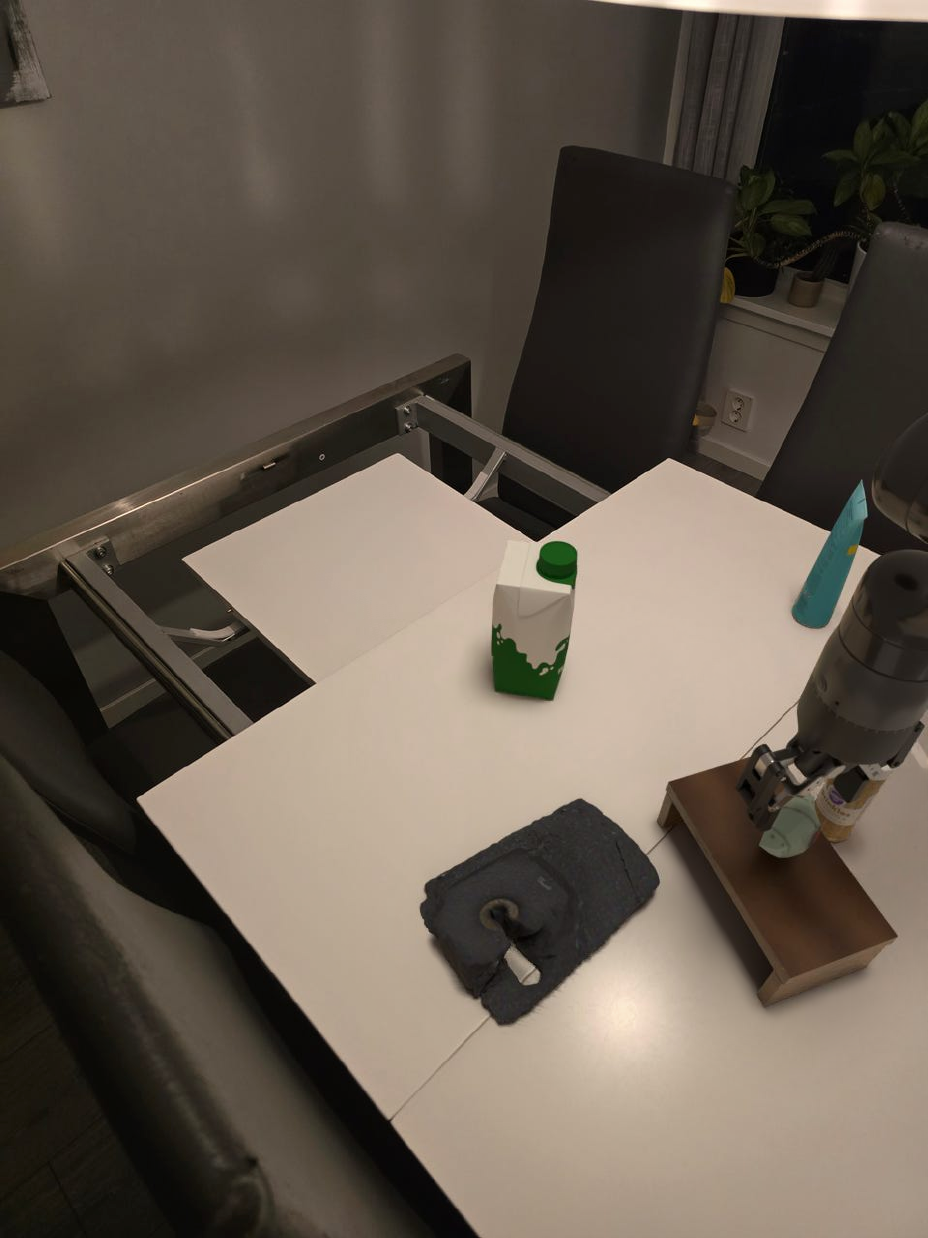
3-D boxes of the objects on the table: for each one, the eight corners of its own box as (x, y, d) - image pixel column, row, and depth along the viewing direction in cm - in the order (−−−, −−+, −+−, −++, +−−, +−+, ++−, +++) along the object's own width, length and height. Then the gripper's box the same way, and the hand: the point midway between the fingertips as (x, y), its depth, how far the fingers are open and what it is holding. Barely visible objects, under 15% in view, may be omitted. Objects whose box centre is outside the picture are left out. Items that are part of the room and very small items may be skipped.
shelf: (745, 790, 85) (763, 752, 80) (868, 968, 72) (898, 936, 67) (655, 818, 82) (668, 781, 77) (765, 1009, 69) (788, 979, 64)
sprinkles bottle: (797, 823, 82) (840, 747, 73) (819, 797, 84) (864, 720, 75) (837, 852, 80) (888, 778, 70) (859, 825, 82) (911, 749, 72)
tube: (833, 637, 101) (890, 518, 88) (794, 632, 102) (845, 514, 88) (825, 598, 106) (878, 481, 93) (788, 594, 107) (835, 476, 93)
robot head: (779, 809, 75) (800, 769, 70) (819, 835, 73) (844, 796, 69) (738, 866, 71) (757, 827, 66) (780, 895, 69) (803, 858, 64)
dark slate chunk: (681, 907, 76) (692, 884, 72) (492, 1039, 67) (493, 1020, 64) (583, 791, 85) (588, 766, 81) (405, 895, 76) (402, 872, 73)
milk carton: (559, 708, 93) (576, 583, 79) (484, 695, 94) (488, 571, 80) (567, 654, 99) (585, 530, 85) (497, 643, 100) (503, 519, 86)
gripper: (817, 754, 51) (753, 872, 63) (991, 699, 54) (900, 820, 66) (752, 672, 56) (704, 795, 68) (915, 625, 59) (843, 750, 71)
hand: (801, 807), depth 67 cm, fingers open, 8 cm apart
